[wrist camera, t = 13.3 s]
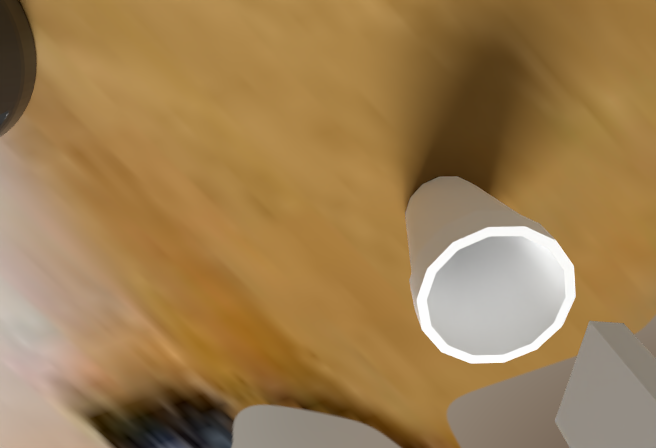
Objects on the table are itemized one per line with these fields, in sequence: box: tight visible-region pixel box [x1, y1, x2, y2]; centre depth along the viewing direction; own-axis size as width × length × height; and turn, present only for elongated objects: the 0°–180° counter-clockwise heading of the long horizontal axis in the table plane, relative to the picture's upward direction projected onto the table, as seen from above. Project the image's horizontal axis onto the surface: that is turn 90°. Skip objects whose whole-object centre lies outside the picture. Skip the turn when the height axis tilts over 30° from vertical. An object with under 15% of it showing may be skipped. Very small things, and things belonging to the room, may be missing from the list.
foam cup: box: [405, 176, 576, 363], centre depth 40 cm, size 10×9×13 cm
